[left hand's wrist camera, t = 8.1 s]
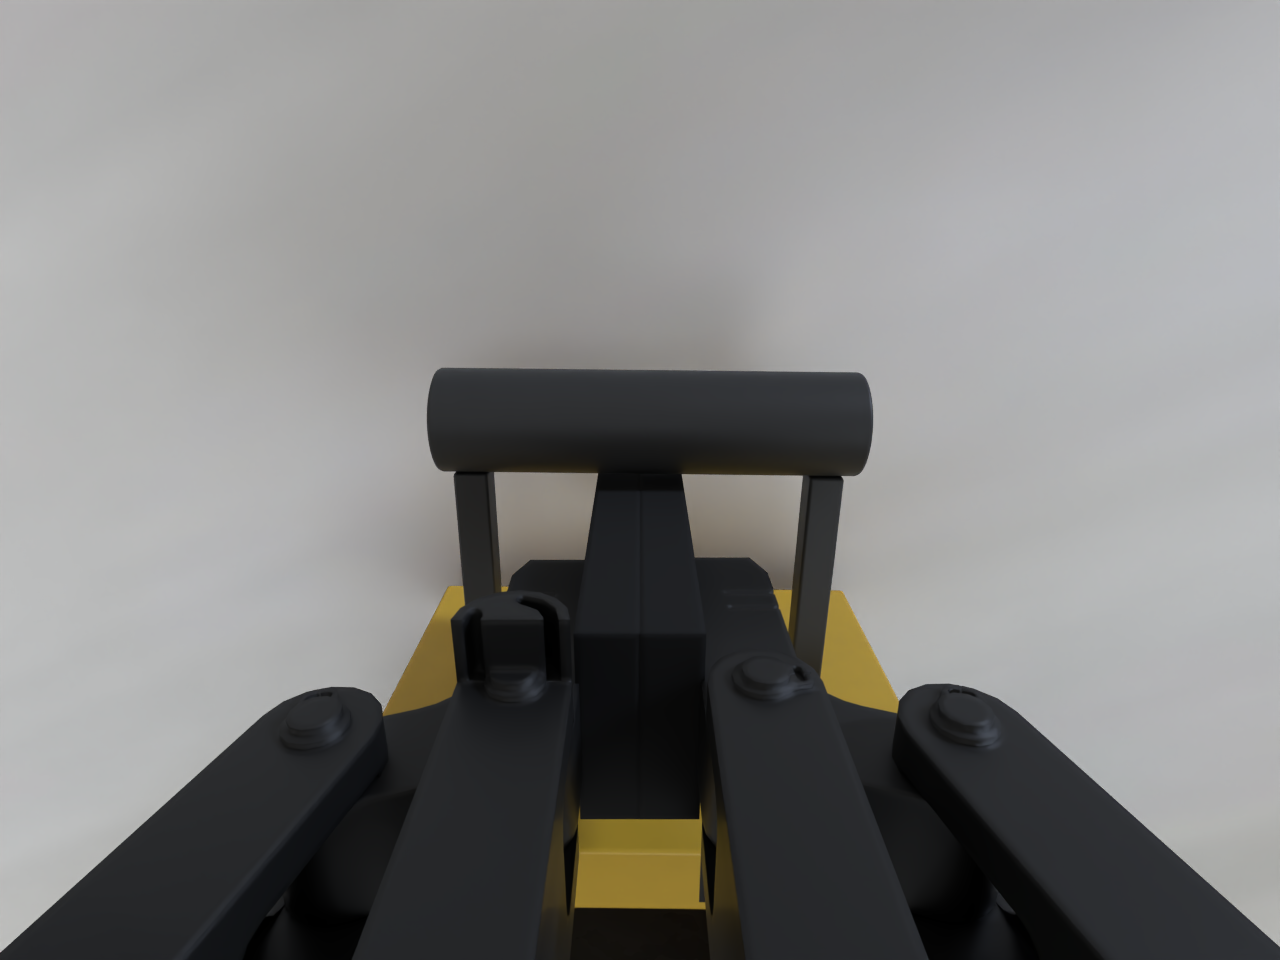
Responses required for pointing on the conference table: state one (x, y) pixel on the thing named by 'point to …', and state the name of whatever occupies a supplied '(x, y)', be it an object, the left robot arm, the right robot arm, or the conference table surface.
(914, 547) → the conference table surface
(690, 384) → the drawer
